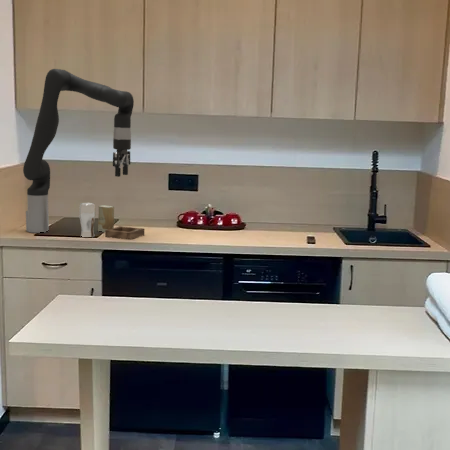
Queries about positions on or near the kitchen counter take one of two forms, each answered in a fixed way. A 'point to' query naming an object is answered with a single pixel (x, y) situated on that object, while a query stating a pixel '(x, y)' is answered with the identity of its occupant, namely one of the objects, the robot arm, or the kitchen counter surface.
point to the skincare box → (105, 218)
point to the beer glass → (87, 219)
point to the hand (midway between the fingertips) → (121, 175)
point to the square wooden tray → (124, 232)
